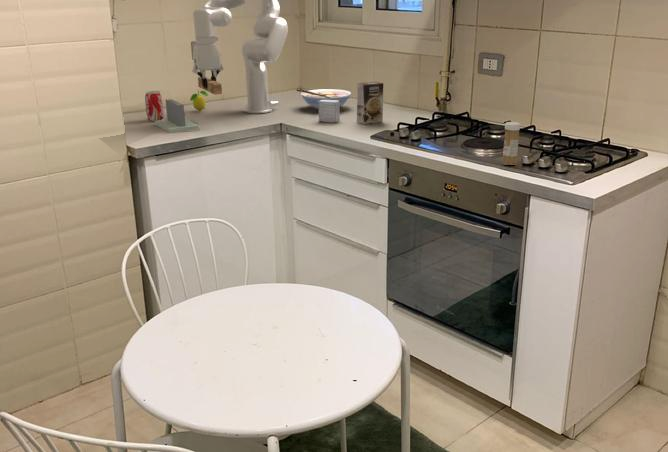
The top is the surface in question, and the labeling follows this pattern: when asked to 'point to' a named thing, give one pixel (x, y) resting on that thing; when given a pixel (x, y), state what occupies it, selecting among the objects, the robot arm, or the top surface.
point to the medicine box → (329, 111)
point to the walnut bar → (211, 86)
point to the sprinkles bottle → (511, 142)
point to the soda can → (154, 105)
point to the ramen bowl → (324, 96)
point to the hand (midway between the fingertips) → (209, 86)
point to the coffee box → (369, 102)
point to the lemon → (199, 100)
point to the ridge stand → (176, 118)
